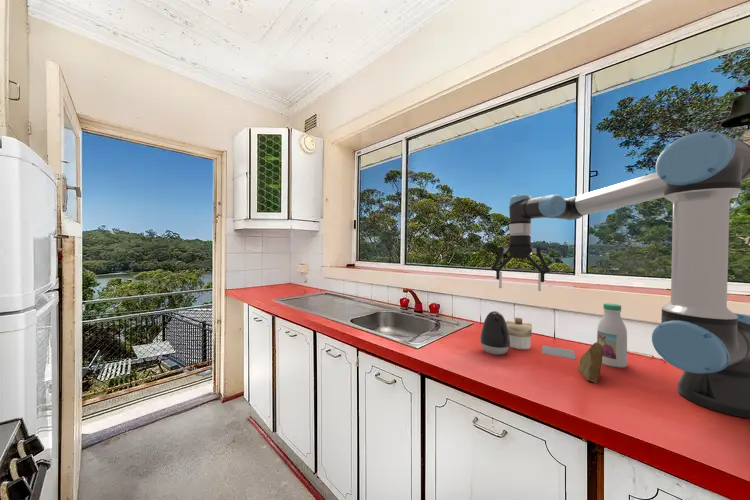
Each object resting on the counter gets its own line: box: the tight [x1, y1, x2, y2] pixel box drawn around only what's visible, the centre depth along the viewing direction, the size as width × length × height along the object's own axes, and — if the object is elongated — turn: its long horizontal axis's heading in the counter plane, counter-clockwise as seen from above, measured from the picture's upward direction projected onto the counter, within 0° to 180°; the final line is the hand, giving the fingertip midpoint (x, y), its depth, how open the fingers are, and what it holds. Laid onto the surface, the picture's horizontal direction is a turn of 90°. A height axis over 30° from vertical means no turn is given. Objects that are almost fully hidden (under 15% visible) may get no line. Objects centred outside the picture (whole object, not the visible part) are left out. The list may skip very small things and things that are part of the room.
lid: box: [505, 317, 533, 338], centre depth 111 cm, size 9×9×6 cm
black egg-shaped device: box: [479, 310, 510, 356], centre depth 104 cm, size 10×10×15 cm
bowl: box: [509, 335, 531, 350], centre depth 111 cm, size 8×8×5 cm
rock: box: [578, 341, 603, 384], centre depth 86 cm, size 11×9×10 cm
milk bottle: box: [596, 302, 628, 368], centre depth 95 cm, size 8×8×20 cm
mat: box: [541, 345, 577, 360], centre depth 104 cm, size 10×10×1 cm
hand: (519, 289), depth 111 cm, fingers open, 13 cm apart
